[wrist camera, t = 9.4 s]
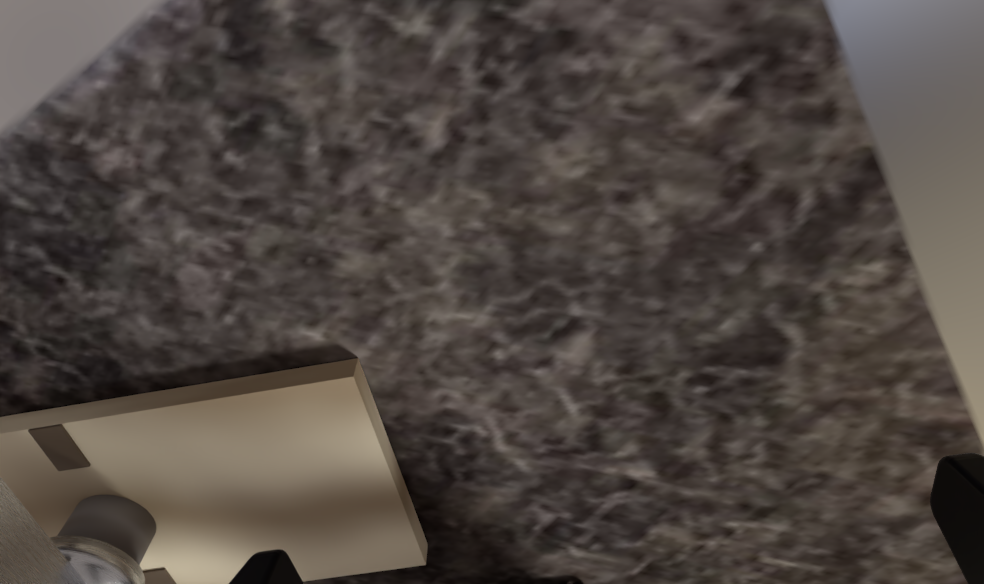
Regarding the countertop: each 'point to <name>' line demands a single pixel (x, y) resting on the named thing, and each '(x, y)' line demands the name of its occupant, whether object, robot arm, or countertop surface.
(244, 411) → the post board
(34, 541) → the grey rectangular bar
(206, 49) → the countertop surface
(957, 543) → the robot arm
